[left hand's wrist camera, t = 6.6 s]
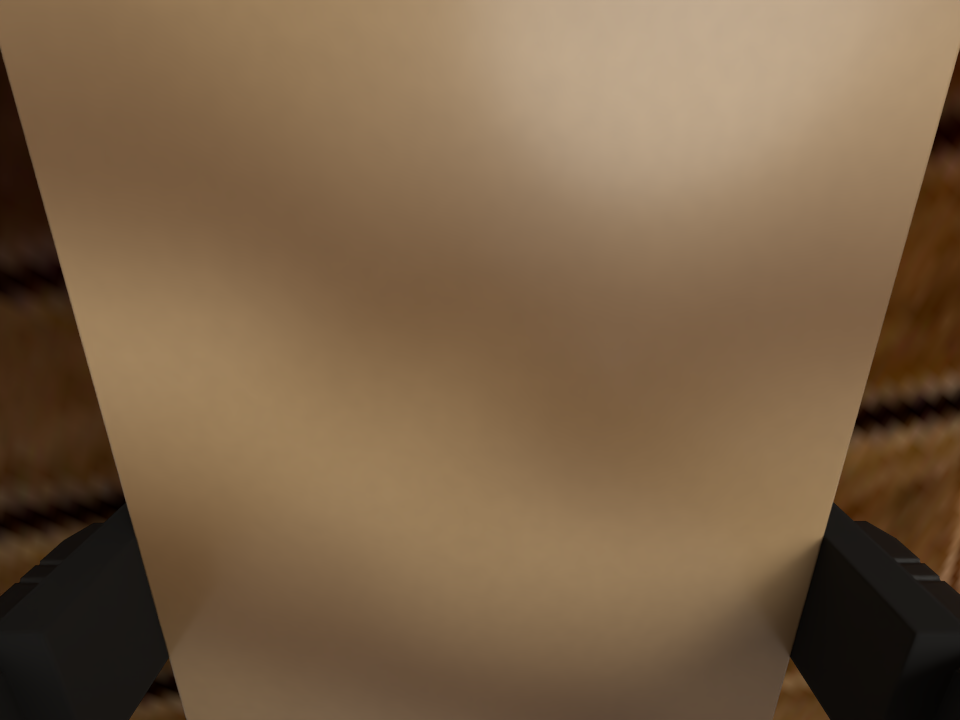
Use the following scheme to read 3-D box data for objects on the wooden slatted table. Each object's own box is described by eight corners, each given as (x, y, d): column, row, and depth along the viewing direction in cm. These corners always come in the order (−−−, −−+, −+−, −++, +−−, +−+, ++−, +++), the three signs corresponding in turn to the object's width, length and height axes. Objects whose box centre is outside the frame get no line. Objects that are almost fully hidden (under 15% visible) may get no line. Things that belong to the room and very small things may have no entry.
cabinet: (219, -289, 11) (-404, -1393, 3) (740, -287, 11) (1361, -1380, 3) (318, 503, 18) (195, 757, 10) (640, 504, 18) (763, 757, 10)
